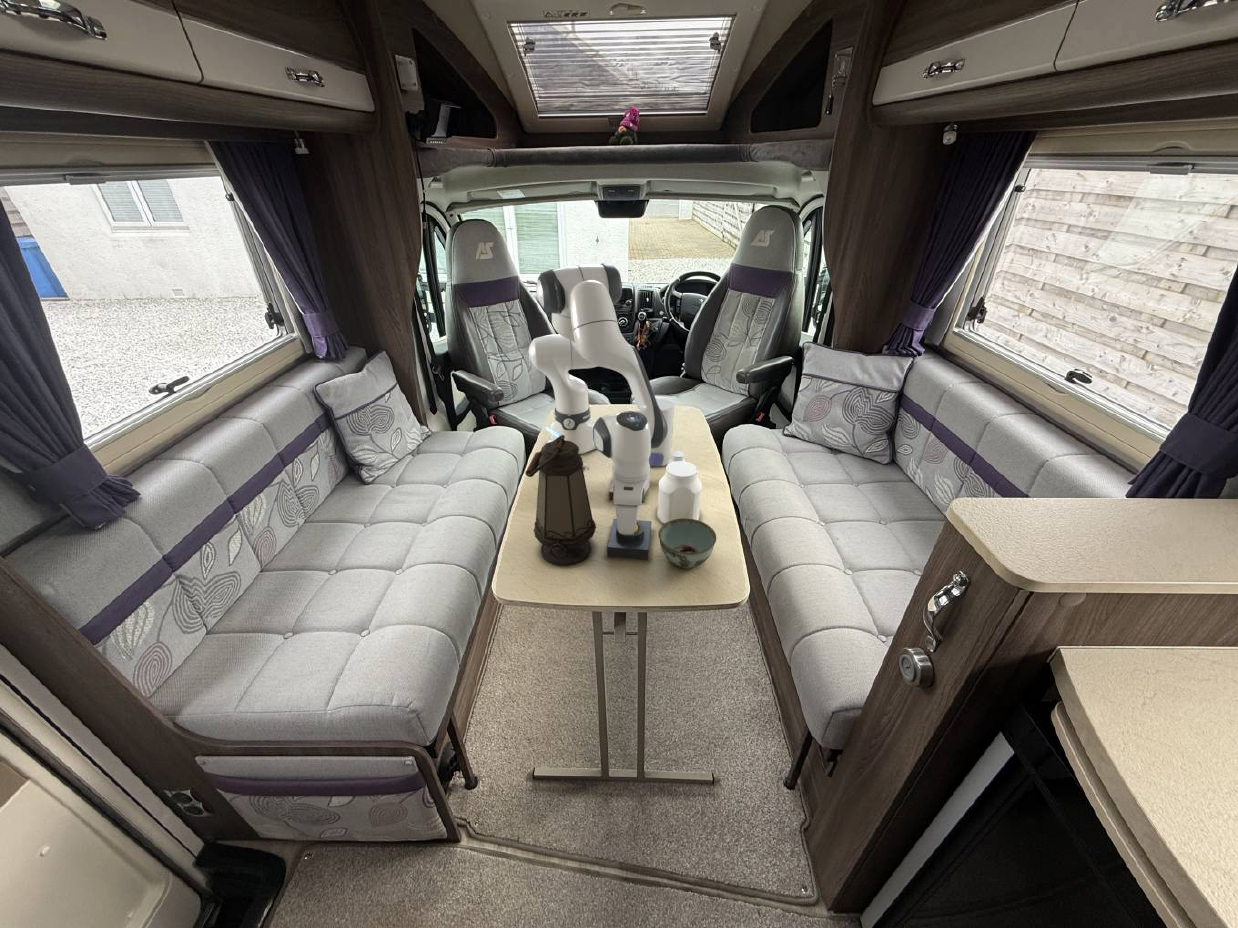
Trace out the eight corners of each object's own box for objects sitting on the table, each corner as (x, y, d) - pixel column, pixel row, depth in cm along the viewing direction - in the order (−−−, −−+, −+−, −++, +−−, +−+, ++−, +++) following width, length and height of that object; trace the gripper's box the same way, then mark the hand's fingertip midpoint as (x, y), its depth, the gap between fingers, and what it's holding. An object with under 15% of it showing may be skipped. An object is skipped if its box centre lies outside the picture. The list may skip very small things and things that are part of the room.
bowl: (689, 537, 129) (691, 511, 126) (725, 566, 120) (728, 539, 116) (646, 555, 123) (647, 529, 119) (680, 587, 113) (682, 560, 109)
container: (676, 459, 166) (680, 403, 157) (659, 470, 160) (662, 412, 150) (652, 450, 172) (655, 395, 162) (634, 460, 165) (636, 404, 156)
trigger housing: (613, 528, 133) (613, 512, 130) (651, 530, 132) (651, 515, 129) (607, 557, 122) (607, 540, 120) (647, 560, 121) (648, 544, 119)
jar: (658, 525, 134) (661, 477, 126) (656, 505, 142) (658, 459, 135) (701, 525, 134) (706, 477, 126) (696, 505, 142) (700, 459, 135)
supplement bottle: (683, 487, 151) (686, 458, 146) (666, 485, 152) (667, 457, 147) (685, 478, 155) (687, 450, 151) (668, 476, 156) (669, 448, 152)
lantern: (591, 576, 116) (587, 464, 102) (527, 571, 118) (514, 460, 103) (601, 529, 132) (599, 426, 118) (545, 525, 134) (536, 423, 119)
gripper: (622, 458, 127) (622, 503, 134) (612, 501, 109) (612, 551, 116) (647, 459, 126) (645, 504, 133) (640, 503, 109) (639, 553, 115)
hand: (630, 527), depth 124 cm, fingers closed, pressing on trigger
